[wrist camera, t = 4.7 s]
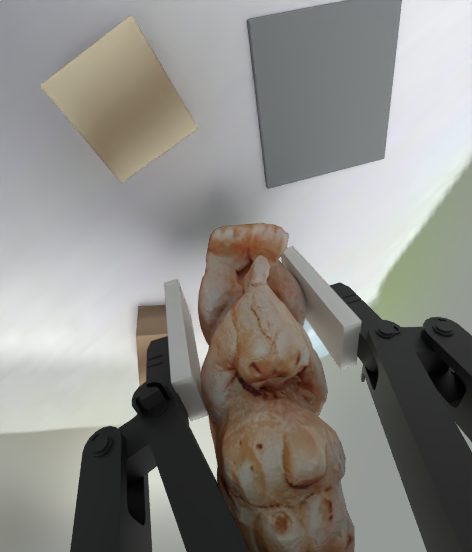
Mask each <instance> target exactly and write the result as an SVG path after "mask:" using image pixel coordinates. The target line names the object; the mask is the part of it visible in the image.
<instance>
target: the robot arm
mask: <svg viewBox="0 0 472 552" xmlns="http://www.w3.org/2000/svg"><path fill="white" fill-rule="evenodd" d="M281 258H282V264H283V265H284V266H285V268H286V269H287V270H288V271H289V272H290V273H291V274H292V275H293V276H294V277H295V278H296V280H297V281H298V283H299V284H300V286H301V288H302V290H303V292H304V295H305V300H306V317H305V318H306V319H307V321H308V322H309V324H310V325H311V327H312V328H313V330H314V331H315V333H316V334H317V336H318V337H319V339H320V340H321V341H322V343H323V344H324V346H325V347H326V349H327V350H328V352H329V353H330V354H331V356H332V358H333V359H334V361H335V362H336V363H337V365H338V366H339V368H340V369H341V370H342V369H345V368H347V367H350V366H354V365H356V364H357V356H358V357H359V359H360V360H361V361H362V363H363V368H362V374H361V380H362V382H364V380H365V378H366V381H367V384H368V387H369V390H370V392H371V395H372V398H373V401H374V404H375V406H376V409H377V412H378V415H379V417H380V420H381V423H382V426H383V429H384V432H385V435H386V438H387V440H388V443H389V446H390V449H391V452H392V454H393V457H394V460H395V462H396V466H397V469H398V471H399V474H400V477H401V480H402V482H403V485H404V488H405V491H406V494H407V496H408V500H409V502H410V505H411V508H412V511H413V513H414V516H415V519H416V522H417V525H418V528H419V531H420V533H421V536H422V539H423V542H424V544H425V547H426V550H427V552H472V452H471V450H470V448H469V446H468V444H467V443H466V441H465V439H464V437H463V436H462V434H461V432H460V430H459V428H458V427H457V425H458V426H459V427H460V428H461V430H462V431H463V432H464V433H465V434H466V435H467V437H468V438H469V439H470V440H471V442H472V336H471V335H470V334H469V333H468V332H467V331H466V330H464V329H463V328H462V327H461V326H460V325H458V324H457V323H455V322H453V321H452V320H449V319H446V318H441V317H433V318H429V319H427V320H426V321H425V322H424V324H423V327H400V326H399V325H397V324H395V323H394V322H390V321H387V320H382V319H381V318H380V317H379V316H378V315H377V314H376V313H375V312H374V311H373V310H372V309H371V308H370V307H369V306H368V305H367V304H366V303H365V302H364V301H363V300H361V298H360V297H359V296H358V295H356V293H355V292H354V291H353V290H352V289H351V288H350V287H348V286H346V285H344V284H342V283H337V284H333V285H330V286H329V285H328V284H327V283H326V282H325V280H324V279H323V278H322V277H321V276H320V275H319V274H318V273H317V272H316V271H315V270H314V268H313V267H312V266H311V265H310V264H309V263H308V262H307V261H306V260H305V259H304V258H303V256H302V255H301V254H300V253H299V252H298V251H297V250H296V249H295V248H294V247H293V246H292V247H288V248H286V249H285V251H284V252H283V253H282V255H281ZM164 287H165V302H166V316H167V330H168V336H166V337H162V338H159V339H156V340H153V341H151V342H150V344H149V346H148V349H147V359H146V360H147V362H146V368H147V369H146V382H145V383H143V384H142V385H141V386H139V387H138V389H137V390H136V391H135V393H134V395H133V398H132V407H133V408H134V409H135V411H136V412H137V415H136V416H135V417H134V418H133V419H131V420H130V421H129V422H127V423H126V424H124V425H123V426H121V427H119V428H118V429H117V428H116V427H113V426H108V427H103V428H101V429H100V430H98V431H96V432H95V433H94V434H93V435H92V436H91V437H90V438H89V440H88V441H87V443H86V445H85V447H84V450H83V453H82V462H81V469H80V477H79V486H78V494H77V502H76V510H75V518H74V526H73V534H72V542H71V550H70V552H152V539H151V521H150V503H149V485H148V473H149V472H150V471H151V470H152V469H154V468H155V467H156V466H157V467H158V470H159V473H160V476H161V478H162V481H163V484H164V487H165V490H166V493H167V496H168V499H169V502H170V504H171V507H172V510H173V513H174V516H175V519H176V522H177V525H178V528H179V531H180V534H181V537H182V539H183V542H184V545H185V548H186V551H187V552H250V550H249V548H248V546H247V544H246V542H245V540H244V538H243V536H242V534H241V532H240V530H239V528H238V526H237V524H236V522H235V520H234V518H233V516H232V514H231V512H230V510H229V508H228V506H227V504H226V502H225V499H224V497H223V495H222V493H221V491H220V489H219V487H218V484H217V481H216V479H215V477H214V475H213V473H212V471H211V469H210V467H209V465H208V463H207V461H206V459H205V457H204V455H203V453H202V451H201V449H200V447H199V445H198V443H197V441H196V439H195V437H194V435H193V433H192V431H191V429H190V427H189V419H190V421H193V420H196V419H199V418H202V417H205V416H208V411H207V409H206V406H205V403H204V399H203V394H202V390H201V371H200V365H199V359H198V354H197V348H196V343H195V337H194V331H193V326H192V320H191V315H190V312H189V309H188V306H187V304H186V301H185V298H184V295H183V293H182V290H181V287H180V284H179V281H178V279H176V280H173V281H169V282H166V283H164ZM188 417H189V419H188ZM455 422H456V423H455ZM456 424H457V425H456Z"/></svg>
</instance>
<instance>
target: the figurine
mask: <svg viewBox="0 0 472 552" xmlns="http://www.w3.org/2000/svg"><path fill="white" fill-rule="evenodd" d="M288 237H289V234H288V233H286V232H285V231H284V230H283V228H282V227H279V226H276V225H273V224H265V223H256V224H246V225H234V226H224V227H220V228H218V229H216V230H215V231H214V232H213V233H212V234H211V235H210V239H209V245H208V250H207V255H206V270H205V274H204V276H203V278H202V282H201V286H200V290H199V299H198V313H199V321H200V326H201V329H202V332H203V335H204V337H205V339H206V342H207V343H208V345H209V350H208V353H207V355H206V358H205V361H204V364H203V366H202V369H201V390H202V394H203V399H204V403H205V406H206V409H207V411H208V415H209V423H210V429H211V434H212V438H213V442H214V447H215V453H216V459H217V465H218V468H217V484H218V487H219V489H220V491H221V493H222V495H223V497H224V499H225V502H226V504H227V506H228V508H229V510H230V512H231V514H232V516H233V518H234V520H235V522H236V524H237V526H238V528H239V530H240V532H241V534H242V536H243V538H244V540H245V542H246V544H247V546H248V548H249V550H250V552H354V545H355V544H354V525H353V523H352V520H351V518H350V516H349V514H348V511H347V509H346V505H345V500H344V496H343V492H342V487H341V478H342V477H343V476H344V473H345V455H344V451H343V448H342V444H341V441H340V440H339V438H338V436H337V434H336V432H335V431H334V430H333V429H332V428H331V427H330V426H329V425H328V424H327V423H325V422H324V421H323V420H322V419H320V418H319V417H318V416H319V415H320V412H321V409H322V407H323V405H324V403H325V401H326V398H327V393H328V389H327V385H326V380H325V375H324V371H323V367H322V363H321V361H320V359H319V356H318V354H317V352H316V351H315V350H314V349H313V346H312V343H311V341H310V339H309V337H308V335H307V332H306V331H305V330H304V328H303V326H304V322H305V317H306V300H305V295H304V292H303V290H302V288H301V286H300V284H299V283H298V281H297V280H296V278H295V277H294V276H293V275H292V274H291V273H290V272H289V271H288V270H287V269H286V268H285V266H284V265H283V264H282V263H281V262H280V261H279V260H278V258H279V257H280V256H281V255H282V253H283V252H284V251H285V249H286V248H287V242H288Z"/></svg>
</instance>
